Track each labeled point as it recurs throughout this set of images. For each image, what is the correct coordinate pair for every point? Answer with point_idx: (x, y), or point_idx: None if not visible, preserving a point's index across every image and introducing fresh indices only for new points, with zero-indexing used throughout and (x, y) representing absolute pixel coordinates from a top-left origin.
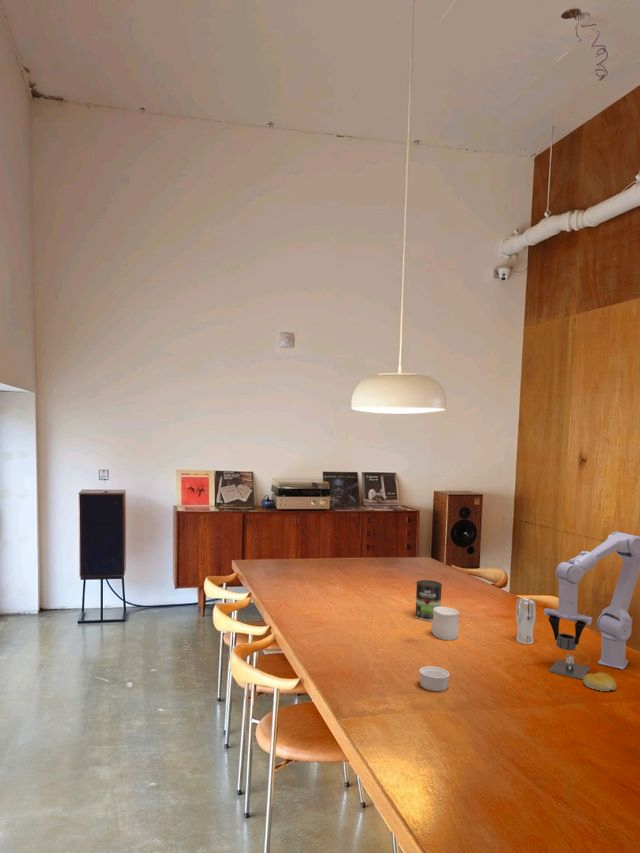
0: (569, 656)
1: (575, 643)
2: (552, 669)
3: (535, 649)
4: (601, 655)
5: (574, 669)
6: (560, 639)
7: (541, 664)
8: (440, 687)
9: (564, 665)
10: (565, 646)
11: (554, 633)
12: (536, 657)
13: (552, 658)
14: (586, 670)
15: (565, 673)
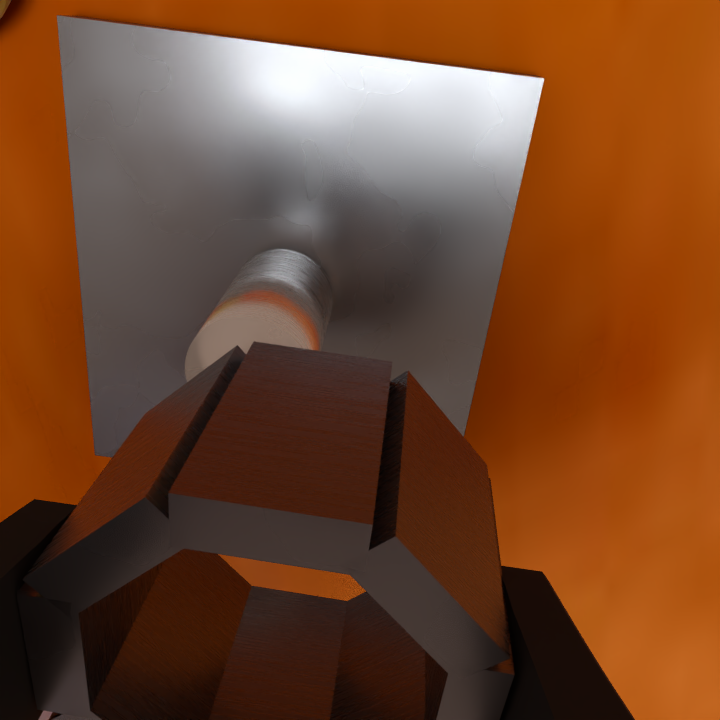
0: (249, 341)
1: (53, 515)
2: (494, 101)
3: (686, 687)
4: (46, 716)
5: (222, 286)
6: (401, 496)
7: (638, 307)
8: None
9: (355, 354)
10: (279, 380)
11: (603, 699)
12: (690, 496)
13: (510, 549)
14: (93, 333)
15: (299, 49)
